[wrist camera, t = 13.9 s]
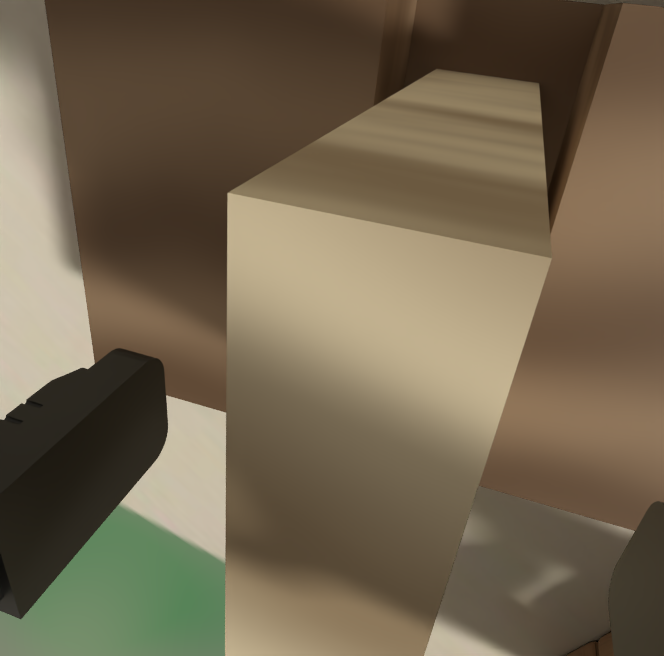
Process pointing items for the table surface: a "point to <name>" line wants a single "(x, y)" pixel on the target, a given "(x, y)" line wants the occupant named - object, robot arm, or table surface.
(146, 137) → the slotted plate
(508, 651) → the table surface
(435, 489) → the maple slat
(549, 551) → the table surface
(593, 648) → the wooden toy block structure
